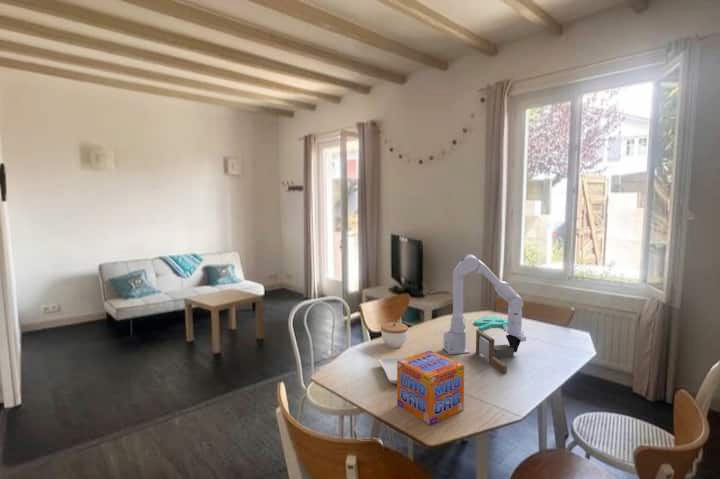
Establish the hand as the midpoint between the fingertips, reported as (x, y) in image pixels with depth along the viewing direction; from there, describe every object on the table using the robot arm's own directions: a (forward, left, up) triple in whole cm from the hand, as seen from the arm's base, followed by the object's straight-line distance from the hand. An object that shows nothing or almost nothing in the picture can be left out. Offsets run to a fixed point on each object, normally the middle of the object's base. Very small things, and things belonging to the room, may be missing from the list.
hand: (513, 351), depth 175 cm
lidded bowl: (-48, +23, -2) cm, 53 cm away
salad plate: (-51, -9, -2) cm, 52 cm away
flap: (-14, 0, -1) cm, 14 cm away
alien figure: (+13, +40, -2) cm, 42 cm away
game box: (-52, -35, -2) cm, 63 cm away
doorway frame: (-14, -5, -1) cm, 15 cm away
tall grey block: (-7, 0, -1) cm, 7 cm away
